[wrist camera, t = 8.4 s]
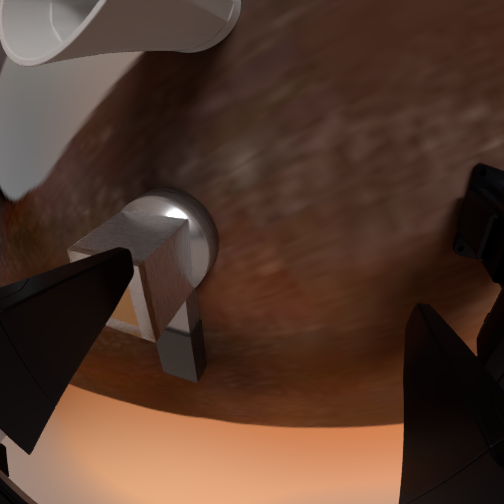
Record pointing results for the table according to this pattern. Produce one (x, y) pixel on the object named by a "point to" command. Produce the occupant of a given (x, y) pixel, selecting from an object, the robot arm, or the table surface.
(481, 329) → the robot arm
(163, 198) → the ratchet
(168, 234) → the grey brown boxy block
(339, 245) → the table surface
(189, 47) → the cup
